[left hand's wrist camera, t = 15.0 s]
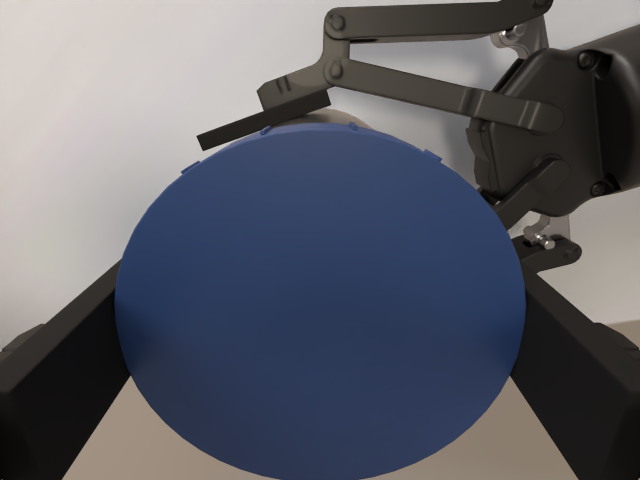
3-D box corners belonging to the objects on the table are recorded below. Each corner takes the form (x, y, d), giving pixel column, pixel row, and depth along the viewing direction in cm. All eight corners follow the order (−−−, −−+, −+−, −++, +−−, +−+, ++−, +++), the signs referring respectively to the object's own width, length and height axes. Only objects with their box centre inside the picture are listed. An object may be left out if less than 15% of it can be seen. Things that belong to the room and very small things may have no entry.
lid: (115, 388, 13) (86, 432, 12) (187, 58, 10) (159, 52, 8) (408, 466, 15) (419, 516, 13) (567, 201, 11) (612, 222, 9)
